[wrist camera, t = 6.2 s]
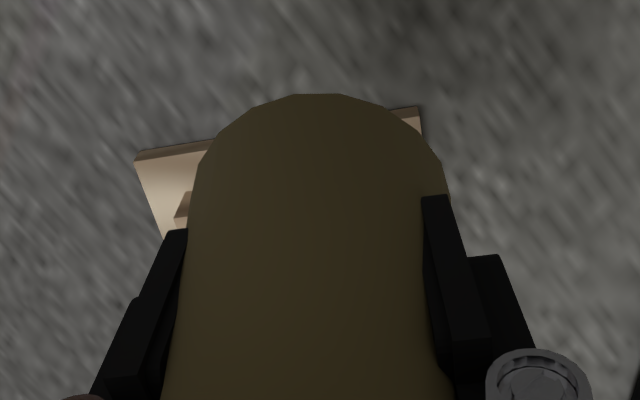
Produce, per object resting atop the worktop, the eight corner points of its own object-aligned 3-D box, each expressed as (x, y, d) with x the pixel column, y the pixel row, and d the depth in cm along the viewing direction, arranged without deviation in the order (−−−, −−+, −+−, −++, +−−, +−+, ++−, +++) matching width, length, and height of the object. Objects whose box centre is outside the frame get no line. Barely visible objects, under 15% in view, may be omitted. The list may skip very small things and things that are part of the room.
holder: (140, 151, 31) (116, 187, 27) (416, 106, 29) (425, 139, 26) (216, 349, 38) (204, 397, 34) (442, 323, 36) (451, 371, 33)
